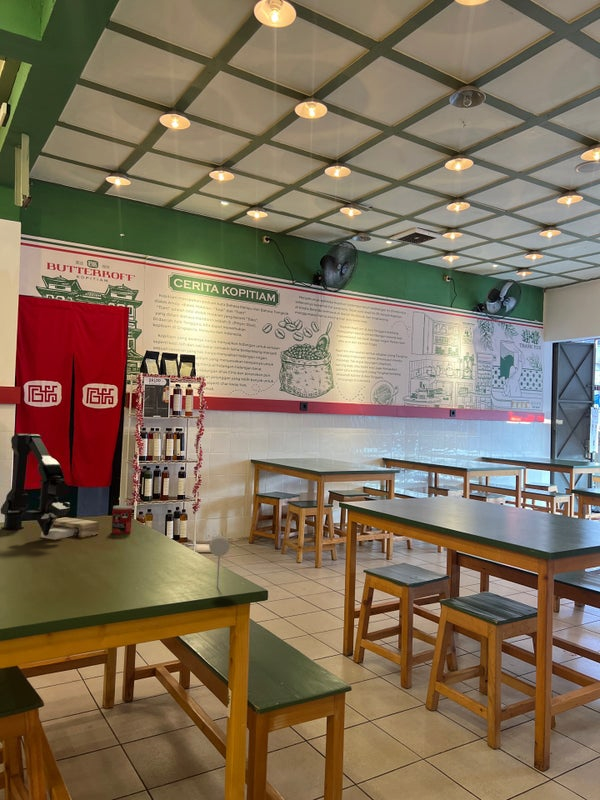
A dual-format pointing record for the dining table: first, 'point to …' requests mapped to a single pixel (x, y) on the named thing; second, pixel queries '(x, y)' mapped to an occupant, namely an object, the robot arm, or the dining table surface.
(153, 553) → the dining table surface
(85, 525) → the oak shelf
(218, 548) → the lollipop
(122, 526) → the canned food
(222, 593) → the dining table surface
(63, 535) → the flat white block
